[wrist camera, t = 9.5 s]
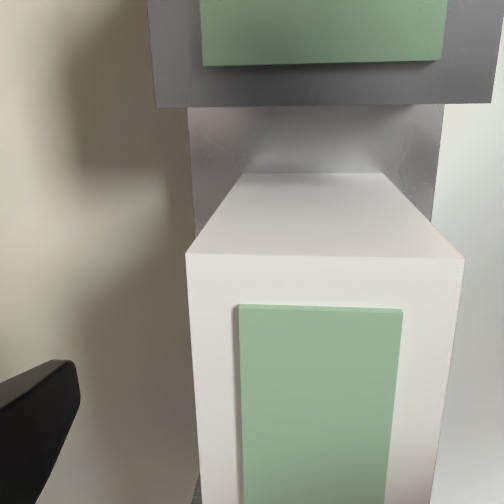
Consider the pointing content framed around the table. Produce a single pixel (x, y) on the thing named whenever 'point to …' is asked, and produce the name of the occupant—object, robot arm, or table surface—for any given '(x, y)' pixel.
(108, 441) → the table surface
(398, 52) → the rail
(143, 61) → the table surface
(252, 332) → the block
